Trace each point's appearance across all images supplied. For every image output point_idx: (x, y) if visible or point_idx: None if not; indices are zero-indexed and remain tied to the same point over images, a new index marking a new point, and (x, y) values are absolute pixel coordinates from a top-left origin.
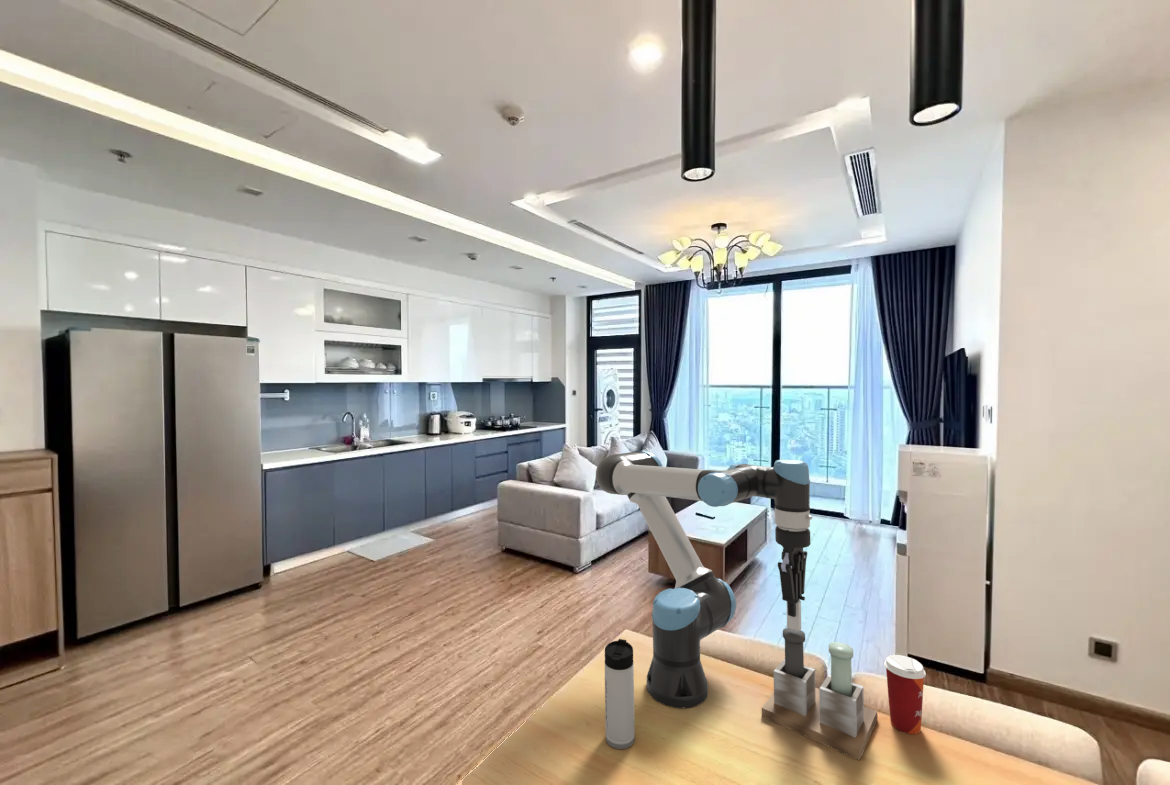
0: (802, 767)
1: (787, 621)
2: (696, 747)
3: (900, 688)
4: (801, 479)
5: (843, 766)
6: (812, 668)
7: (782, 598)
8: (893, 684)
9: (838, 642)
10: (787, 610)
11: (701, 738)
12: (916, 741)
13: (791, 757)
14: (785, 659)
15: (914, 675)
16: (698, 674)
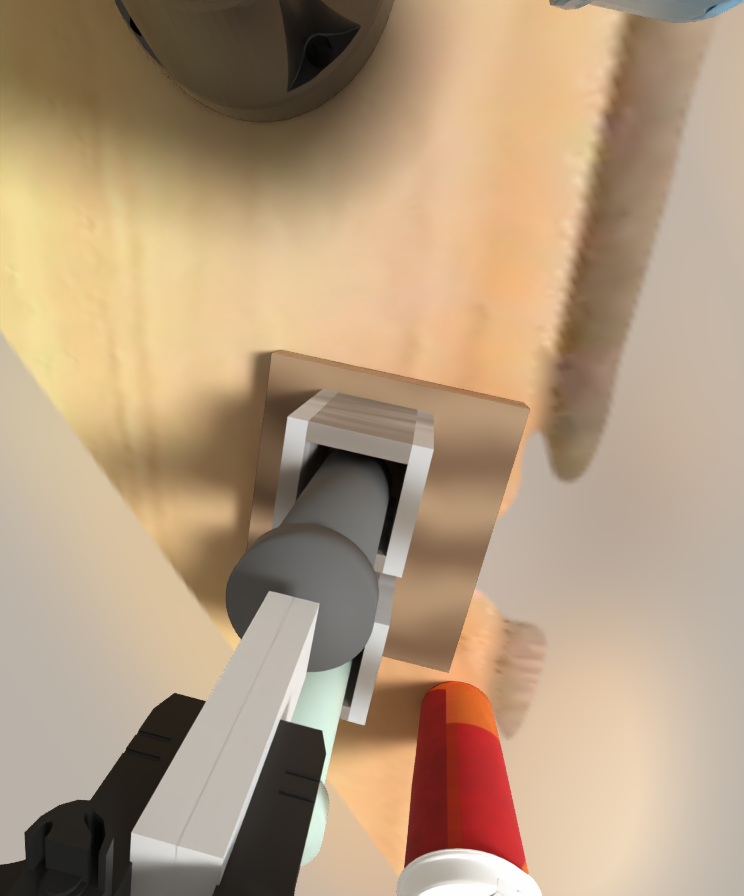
0: (139, 483)
1: (252, 625)
2: (17, 189)
3: (410, 822)
4: None
5: (204, 569)
6: (403, 567)
7: (39, 821)
8: (421, 811)
9: (317, 822)
10: (202, 710)
11: (61, 189)
12: (399, 720)
13: (157, 455)
14: (313, 483)
15: None
16: (190, 36)
